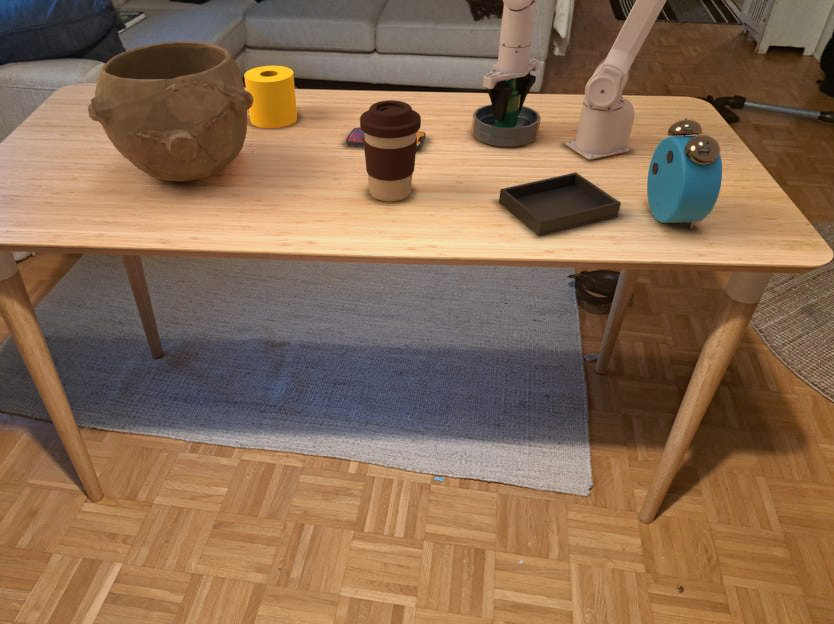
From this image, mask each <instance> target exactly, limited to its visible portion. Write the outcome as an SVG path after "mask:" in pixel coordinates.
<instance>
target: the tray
mask: <svg viewBox="0 0 834 624" xmlns="http://www.w3.org/2000/svg"><path fill="white" fill-rule="evenodd" d="M498 204H500V205H501V206H502V207H503V208H504V209H506V210H507V211H508V212H510V214H512V215H513V216H514V217H516V219H518V220H519V221H520V222H521V223H522V224H524V225H525V226H526V228H528V229H530V231H532V232H533V233H535V234H536V236H538V237H541V236H545V235H550V234H554V233H557V232H561V231H565V230H569V229H573V228H577V227H580V226H584V225H588V224H589V225H590V224H592V223H597V222H601V221H605V220H610V219H613V218H616V217H617V218H618V216H619V213H620V212H619V211H620V209H621V205H622V202H621V201H619V200H618V199H617V198H614V196H611V194H609V193H607V191H604V189H601V188H600V187H598V186H597V185H596V184H594V183H593V182H591V181H589V179H587V178H585V177H584V176H582V175H581V174H580V173H578V172H576V171H575V172H571V173H566V174H562V175H558V176H553V177H548V178H545V179H539V180H535V181H531V182H530V181H529V182H527V183H522V184H516V185H512V186H508V187H504V188H500V190H499V200H498Z"/></svg>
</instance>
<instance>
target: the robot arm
mask: <svg viewBox="0 0 834 624" xmlns="http://www.w3.org/2000/svg"><path fill="white" fill-rule="evenodd" d="M502 2H503V9H502V16H501V25H500V35H499V44H498V56H497V62H496V63H493V65H492V70H491V71H489V72H488V74H485V75H484V76H483V77H482V87H483V88H485V90H486V92H487V94H488V96H489V99H490V105H491V104H492V109H493V116H494V119H495V120H498V121H504V119H505V116H506V111H507V106H508V102H509V99H510V96H511V94H512V92H513V90H514V88H513V87H510V86H507V85H508V84H506V81H508V80H510V79H513V78H517V82H516V87H517V88H518V91H519V92H521V97H520V105H519V113H518V114H520V111H521V109H522V106H524V103H525V101H526V98H527V96H528V94H529V92H530V90H531V89H532V87H533V86H534V84H535V83H536V81H537V76H536V75H535V74H531V72H538V71H539V69H540V64H541V63H540V62H541V60H540V59H536V58H532V57H531V58H530V56H531V55H530V54H531V47H532V39H533V31H534V23H535V8H536V0H502ZM666 3H667V0H635V2H634V3H633V5H632V8H631V9H630V12H629V13H628V15H627V18H626V19H625V21H624V23H623V25H622V27H621V28H620V31H619V33H618V35H617V37H616V38H615V40H614V42H613V44H612V46H611V48H610V50H609V52H608V53H607V56H606V57H605V59H603V60H602V61H601V62H599V64H598V65H597V66H596V68H595V70H594V72H593V74H592V76H591V77H590V78H589V79H588V81H587V82H586V83H585V87H584V97H583V100H582V106H581V110H580V111H581V112H580V116H579V120H578V121H579V122H578V126H577V131H576V136H575V137H576V138H575V139H574V140H570V141H566V142H564V144H565V146H567V147H568V148H569V149H570V150H573V151H574V152H576V153H577V154H579V155H581V156H582V157H584V158H585V159H587V160H589V161H592V160H597V159H600V158H606V157H610V156H614V155H619V154H623V153H624V154H625V153H628V152H630V151H631V149H630V148H629V147H628V145H629V143H630V142H629V141H630V137H631V133H632V129H633V126H634V125H633V124H634V120H635V108H634V106H633V103H632V102H631V101H630V99H627V98H624V97H623V93H622V92H623V90H624V89H625V86H626V85H627V84H628V82H629V79H630V70H631V67H632V64H633V63H634V61H635V59H636V57H637V56H638V53H639V51H640V50H641V48H642V46H643V45H644V42H645V41H646V39H647V37H648V35H649V33H650V32H651V30H652V28H653V26H654V24H655V22H656V21H657V18H659V15H660V13H661V11H662V10H663V9H664V6H665V4H666Z"/></svg>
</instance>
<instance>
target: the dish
mask: <svg viewBox="0 0 834 624" xmlns="http://www.w3.org/2000/svg"><path fill="white" fill-rule="evenodd" d="M541 119H542V117H541V115H540V113H539V112H538V111H537V110H535V109H533V108H531V107H528V106H525V105H523V106H522V109H521V111H520V114H518V121H517V125H516V126H514V127H510V128H504V127H499V126H497V125H496V124H495V119H494V116H493V109H492V104H491V103H490V104H486V105H483V106H481V107H478V108H476V109H475V111H473V113H472V121H471V134H472V136H473V137H474V138H475V139H476V140H478V141H479V142H482V143H484V144H487V145H491V146H495V147H504V148H509V147H510V148H511V147H512V148H513V147H520V146H523V145H524V146H525V145H528V144H530V143H533V142H534V141H536V140H537V138H538V136H539V132H540V125H541Z"/></svg>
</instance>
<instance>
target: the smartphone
mask: <svg viewBox="0 0 834 624" xmlns="http://www.w3.org/2000/svg"><path fill="white" fill-rule="evenodd" d="M426 135H427V134H426V132H425V131H422V130H421V131H420V130H418V131H417V133H416V137H417V147H416V152H417V151H419V150H421V148H422V147H423V144H424V142H425V140H426V138H427V136H426ZM364 137H365V136H364V132H363V131H362V130H361V128H360V126H359V127H354V128H353V129H351V132H350V133H349V135H348V136H347V138H346V139H345V144H346V145H347V146H350V147H362V148H364Z"/></svg>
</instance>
